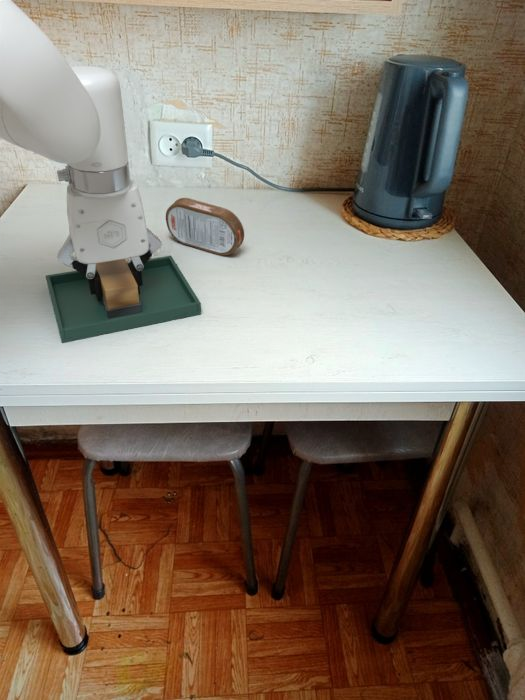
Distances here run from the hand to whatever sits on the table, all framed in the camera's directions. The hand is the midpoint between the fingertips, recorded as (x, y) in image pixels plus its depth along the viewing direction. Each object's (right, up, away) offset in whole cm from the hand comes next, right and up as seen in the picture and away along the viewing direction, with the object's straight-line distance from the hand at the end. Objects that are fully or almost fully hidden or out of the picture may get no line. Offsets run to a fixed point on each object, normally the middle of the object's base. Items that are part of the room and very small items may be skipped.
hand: (117, 292), depth 78 cm
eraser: (0, -1, +1) cm, 1 cm away
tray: (+1, -1, +1) cm, 2 cm away
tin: (+11, +10, +16) cm, 22 cm away
